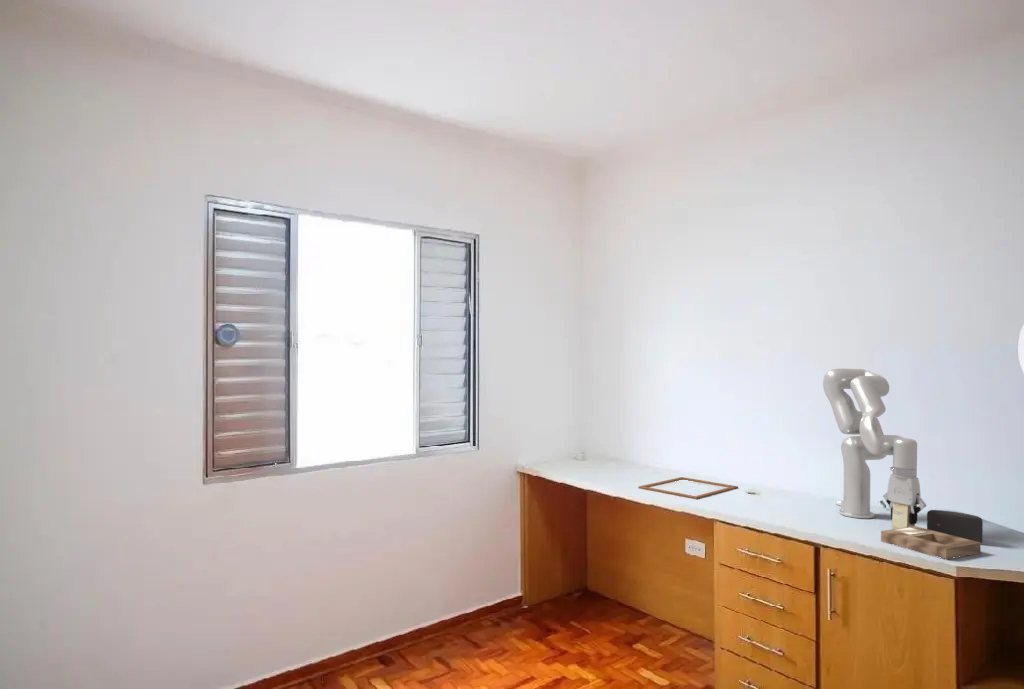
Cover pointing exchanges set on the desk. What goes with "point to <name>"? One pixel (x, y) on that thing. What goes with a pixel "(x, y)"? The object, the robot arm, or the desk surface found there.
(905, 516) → the skincare box
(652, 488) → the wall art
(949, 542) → the walnut stand
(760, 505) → the desk surface
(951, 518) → the leaning round-cornered charcoal block
